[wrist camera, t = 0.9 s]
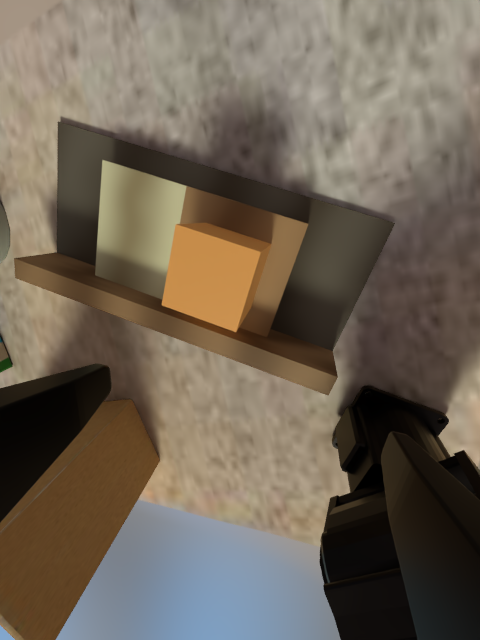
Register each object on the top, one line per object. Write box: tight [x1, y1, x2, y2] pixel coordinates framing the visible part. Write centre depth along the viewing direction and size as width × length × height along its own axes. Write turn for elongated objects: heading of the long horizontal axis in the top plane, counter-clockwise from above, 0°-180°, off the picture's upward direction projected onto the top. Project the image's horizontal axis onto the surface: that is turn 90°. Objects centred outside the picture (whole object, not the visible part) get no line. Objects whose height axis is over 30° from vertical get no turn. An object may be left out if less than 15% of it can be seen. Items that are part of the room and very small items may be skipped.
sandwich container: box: [0, 399, 160, 640], centre depth 24 cm, size 9×15×15 cm, turn 107°
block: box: [162, 223, 271, 332], centre depth 16 cm, size 4×4×4 cm
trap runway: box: [14, 122, 395, 395], centre depth 19 cm, size 24×11×4 cm, turn 74°
